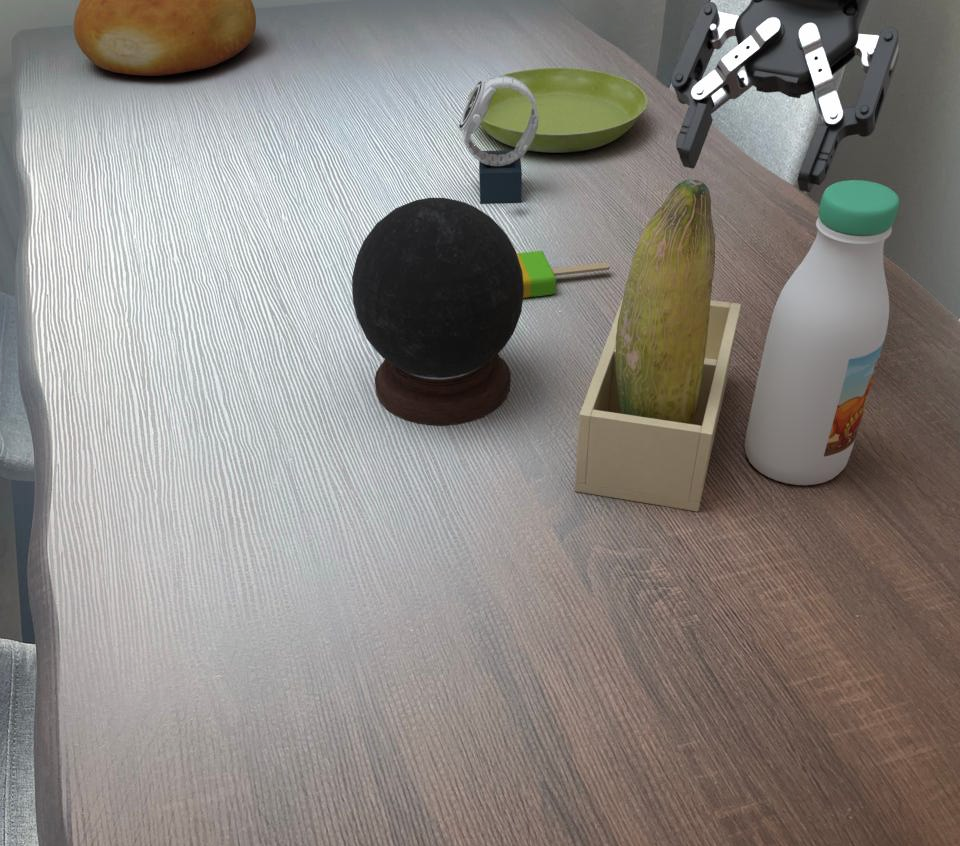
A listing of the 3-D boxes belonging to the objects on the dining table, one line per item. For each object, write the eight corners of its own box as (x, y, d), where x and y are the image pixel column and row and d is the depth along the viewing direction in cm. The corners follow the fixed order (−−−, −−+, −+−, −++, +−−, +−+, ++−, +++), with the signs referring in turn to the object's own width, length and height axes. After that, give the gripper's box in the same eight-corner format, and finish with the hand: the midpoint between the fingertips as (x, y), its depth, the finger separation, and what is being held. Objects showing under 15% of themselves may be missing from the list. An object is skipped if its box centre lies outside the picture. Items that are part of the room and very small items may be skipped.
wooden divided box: (727, 378, 85) (741, 303, 80) (698, 512, 73) (712, 434, 68) (618, 363, 86) (625, 289, 81) (574, 491, 75) (579, 414, 70)
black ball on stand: (490, 446, 79) (488, 262, 68) (336, 414, 82) (310, 233, 71) (543, 357, 87) (548, 180, 76) (401, 331, 91) (386, 157, 79)
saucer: (681, 134, 118) (685, 104, 116) (537, 180, 111) (538, 150, 108) (571, 81, 130) (572, 53, 127) (434, 120, 122) (433, 91, 120)
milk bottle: (781, 500, 74) (849, 233, 59) (723, 441, 79) (772, 180, 64) (868, 471, 76) (955, 206, 61) (806, 416, 81) (873, 157, 66)
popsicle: (447, 277, 97) (446, 258, 95) (600, 261, 98) (602, 242, 97) (457, 307, 93) (456, 288, 92) (616, 289, 95) (618, 270, 93)
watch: (461, 181, 111) (457, 70, 103) (535, 179, 111) (537, 68, 103) (461, 204, 107) (457, 91, 99) (538, 202, 107) (540, 89, 99)
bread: (98, 31, 146) (76, -51, 139) (263, 22, 147) (250, -60, 140) (73, 91, 131) (47, 2, 123) (257, 80, 132) (242, -9, 125)
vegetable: (681, 483, 74) (724, 211, 59) (596, 467, 75) (618, 198, 61) (696, 435, 78) (741, 168, 63) (616, 420, 79) (641, 157, 65)
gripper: (939, -14, 70) (847, 218, 72) (741, -39, 75) (660, 178, 77) (943, -89, 63) (841, 170, 65) (724, -111, 68) (636, 129, 70)
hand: (743, 174), depth 71 cm, fingers open, 8 cm apart
